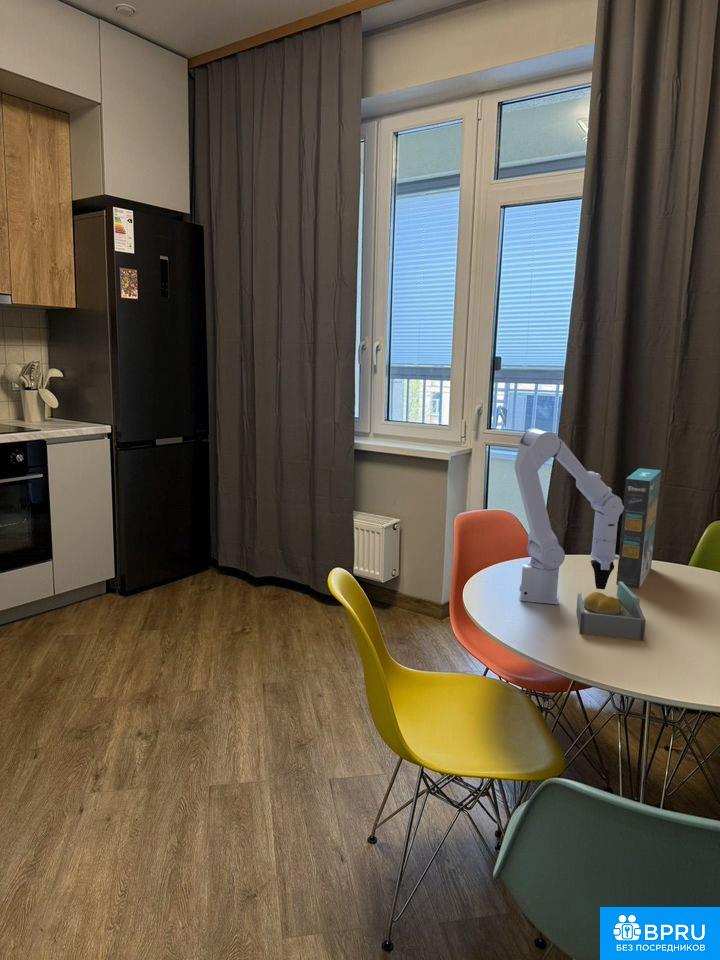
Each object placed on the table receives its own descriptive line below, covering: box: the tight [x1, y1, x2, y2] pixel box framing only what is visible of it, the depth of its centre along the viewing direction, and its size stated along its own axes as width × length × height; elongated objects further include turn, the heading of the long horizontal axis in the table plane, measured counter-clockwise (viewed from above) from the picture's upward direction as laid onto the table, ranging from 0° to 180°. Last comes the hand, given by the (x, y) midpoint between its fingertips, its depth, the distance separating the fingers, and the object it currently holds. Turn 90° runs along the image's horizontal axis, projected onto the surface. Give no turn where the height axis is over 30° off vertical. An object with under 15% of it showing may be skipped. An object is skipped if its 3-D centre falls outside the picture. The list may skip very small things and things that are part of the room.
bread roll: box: [582, 591, 623, 616], centre depth 169 cm, size 8×9×4 cm
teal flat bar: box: [616, 582, 641, 615], centre depth 170 cm, size 14×2×4 cm, turn 175°
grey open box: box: [575, 593, 646, 642], centre depth 159 cm, size 15×16×5 cm
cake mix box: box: [615, 468, 662, 589], centre depth 193 cm, size 22×6×30 cm, turn 149°
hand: (600, 588), depth 178 cm, fingers closed
